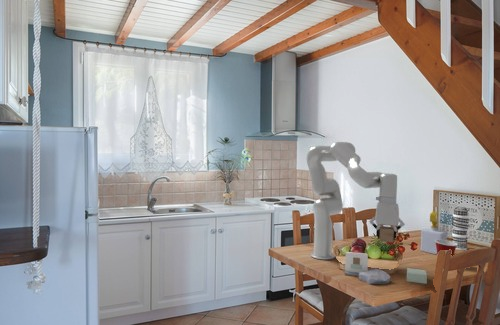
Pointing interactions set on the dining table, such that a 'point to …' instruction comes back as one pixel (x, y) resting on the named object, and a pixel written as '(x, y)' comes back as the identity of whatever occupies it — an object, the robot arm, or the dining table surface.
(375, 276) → the stone block
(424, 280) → the sage block
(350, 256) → the picture card
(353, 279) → the dining table surface
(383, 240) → the walnut block
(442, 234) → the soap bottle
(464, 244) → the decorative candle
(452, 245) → the plastic cup
